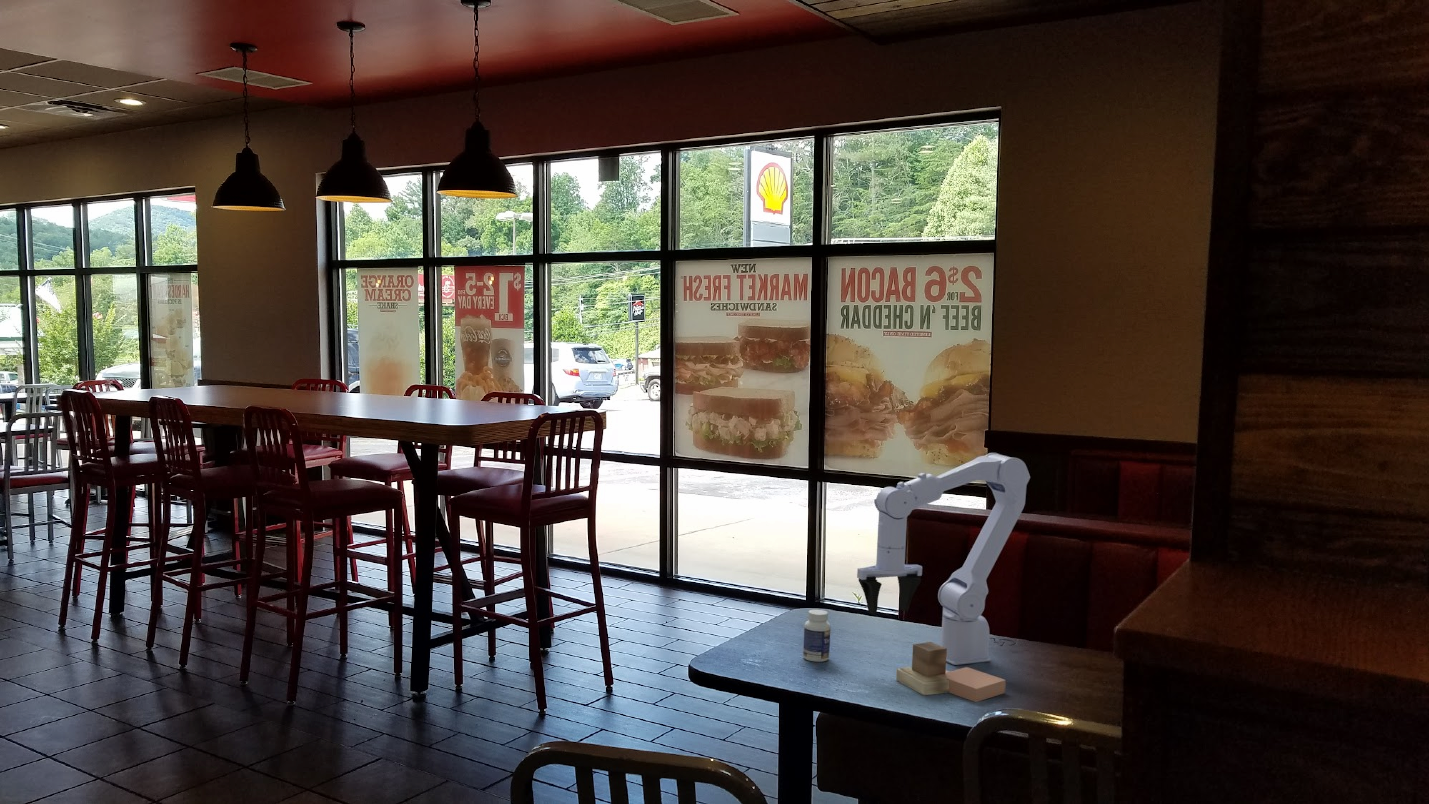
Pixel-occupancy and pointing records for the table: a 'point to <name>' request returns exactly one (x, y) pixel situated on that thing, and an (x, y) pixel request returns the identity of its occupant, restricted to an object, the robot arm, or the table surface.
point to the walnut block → (929, 659)
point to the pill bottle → (817, 636)
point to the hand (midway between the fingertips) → (888, 611)
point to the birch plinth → (922, 681)
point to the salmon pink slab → (974, 684)
